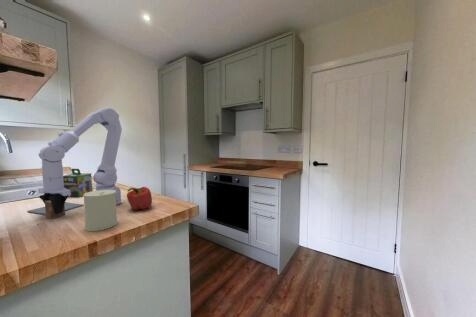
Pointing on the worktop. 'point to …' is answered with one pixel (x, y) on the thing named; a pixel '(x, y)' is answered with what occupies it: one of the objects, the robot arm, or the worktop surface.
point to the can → (100, 210)
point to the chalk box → (78, 183)
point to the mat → (67, 205)
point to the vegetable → (139, 198)
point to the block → (52, 210)
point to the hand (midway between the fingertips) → (55, 212)
